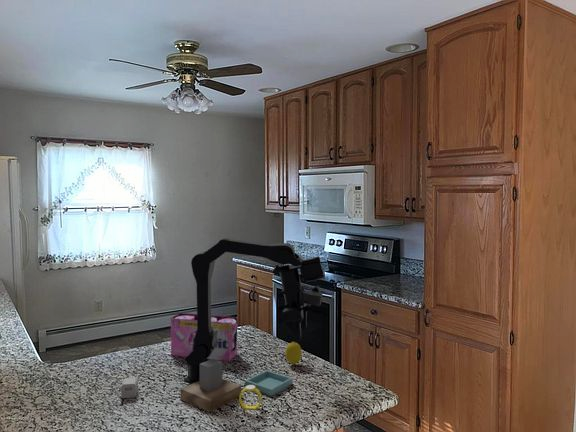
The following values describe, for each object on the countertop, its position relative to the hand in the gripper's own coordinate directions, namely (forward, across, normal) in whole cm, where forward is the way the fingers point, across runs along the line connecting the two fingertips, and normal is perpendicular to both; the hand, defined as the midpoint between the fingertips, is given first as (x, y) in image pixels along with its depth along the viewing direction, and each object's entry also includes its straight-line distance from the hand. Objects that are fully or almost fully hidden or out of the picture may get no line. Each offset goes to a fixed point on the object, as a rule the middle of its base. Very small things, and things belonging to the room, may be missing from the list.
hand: (302, 334), depth 137 cm
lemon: (+14, +14, +8) cm, 22 cm away
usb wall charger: (+5, -17, +50) cm, 53 cm away
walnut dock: (+10, -15, +26) cm, 32 cm away
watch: (+12, -19, +14) cm, 26 cm away
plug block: (+6, -15, +25) cm, 30 cm away
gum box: (+8, +16, +41) cm, 45 cm away
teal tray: (+13, -4, +12) cm, 18 cm away
